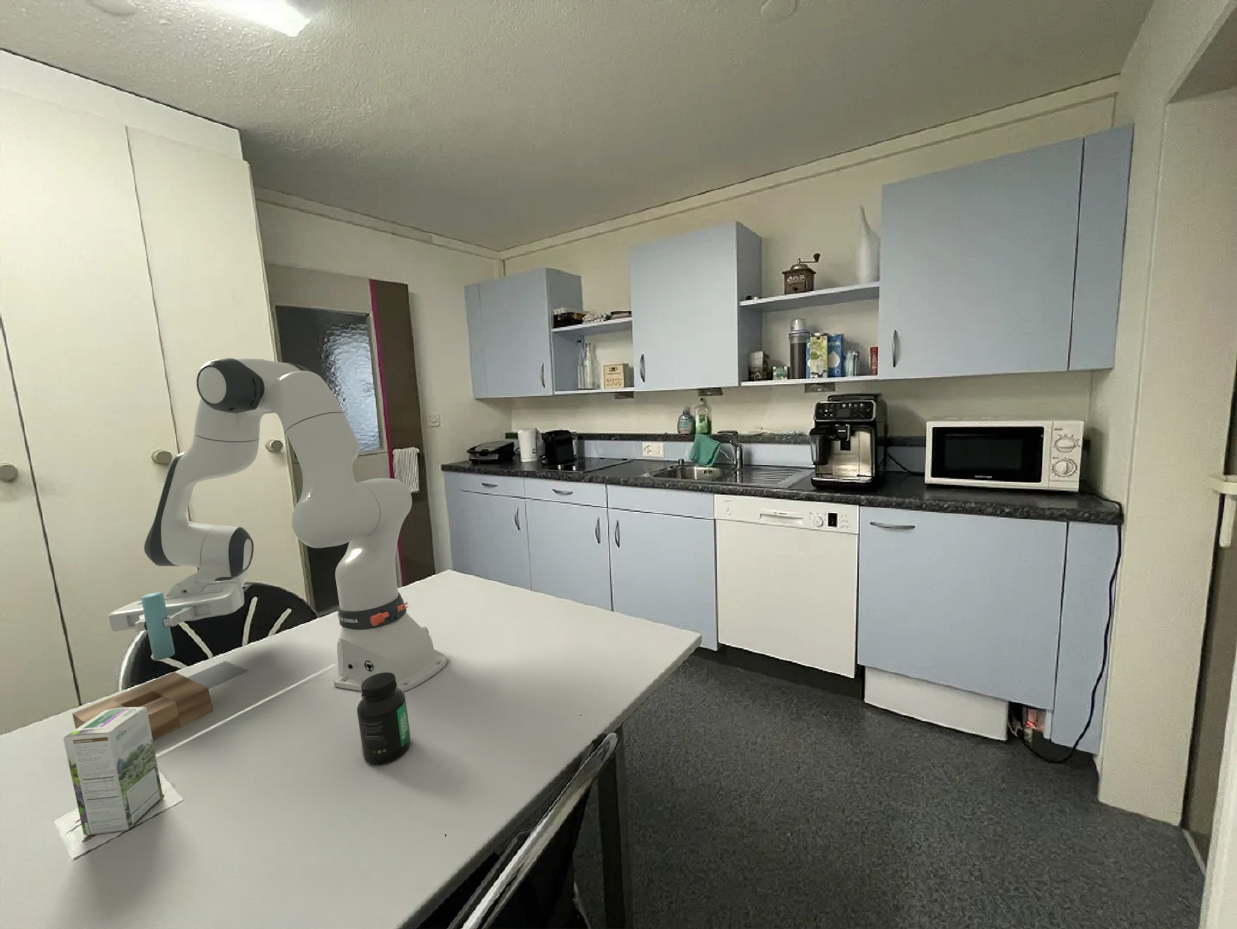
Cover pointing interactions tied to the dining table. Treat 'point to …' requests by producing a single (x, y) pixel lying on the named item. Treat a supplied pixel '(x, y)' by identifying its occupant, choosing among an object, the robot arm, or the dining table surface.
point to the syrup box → (113, 769)
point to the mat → (217, 674)
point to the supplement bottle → (383, 720)
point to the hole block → (158, 703)
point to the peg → (157, 626)
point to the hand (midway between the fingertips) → (154, 625)
